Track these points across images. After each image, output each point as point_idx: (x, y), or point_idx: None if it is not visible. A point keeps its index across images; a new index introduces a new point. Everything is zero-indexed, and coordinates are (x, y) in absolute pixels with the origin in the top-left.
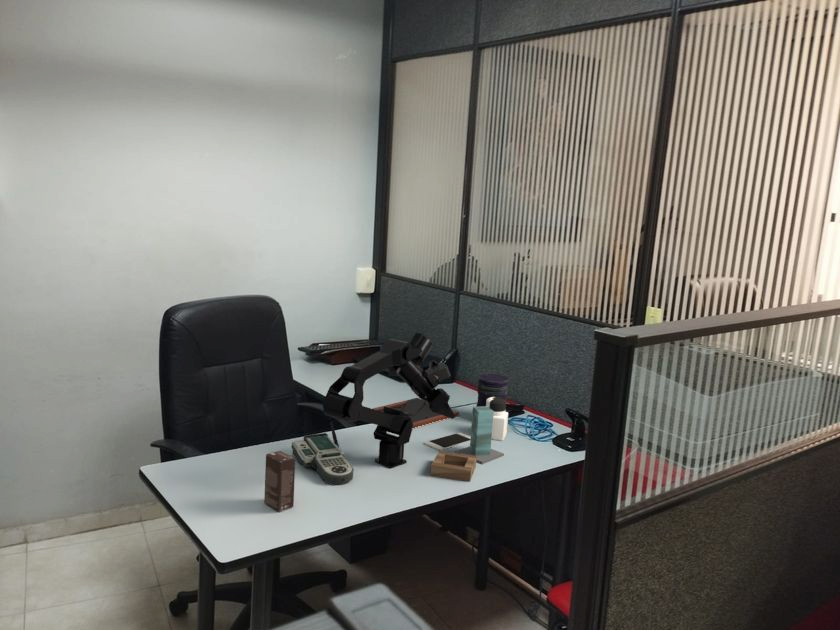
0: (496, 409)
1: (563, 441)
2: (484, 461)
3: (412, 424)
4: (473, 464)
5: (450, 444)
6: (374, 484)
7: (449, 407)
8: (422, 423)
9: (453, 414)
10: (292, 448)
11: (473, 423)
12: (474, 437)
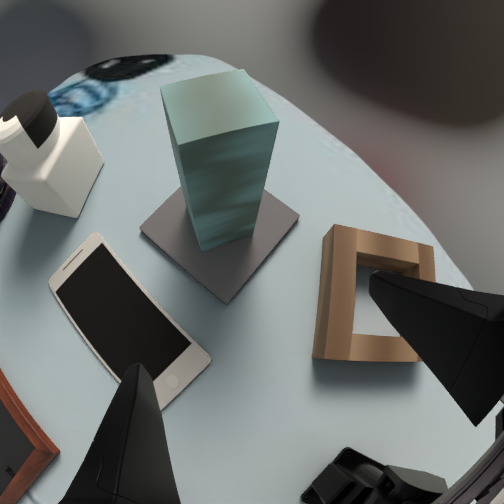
0: (51, 121)
1: (120, 68)
2: (292, 210)
3: (412, 484)
4: (394, 237)
5: (154, 319)
6: (458, 456)
7: (466, 294)
8: (11, 395)
9: (397, 277)
10: None
11: (212, 192)
12: (236, 214)
